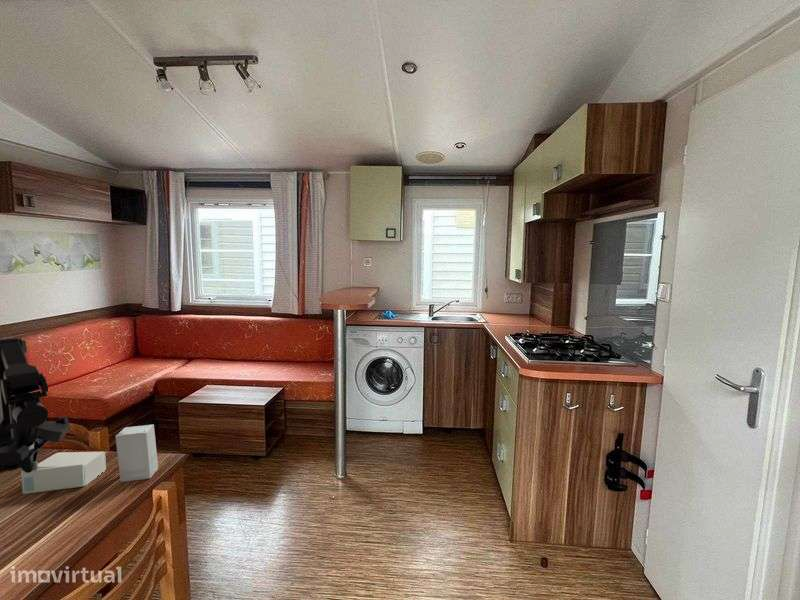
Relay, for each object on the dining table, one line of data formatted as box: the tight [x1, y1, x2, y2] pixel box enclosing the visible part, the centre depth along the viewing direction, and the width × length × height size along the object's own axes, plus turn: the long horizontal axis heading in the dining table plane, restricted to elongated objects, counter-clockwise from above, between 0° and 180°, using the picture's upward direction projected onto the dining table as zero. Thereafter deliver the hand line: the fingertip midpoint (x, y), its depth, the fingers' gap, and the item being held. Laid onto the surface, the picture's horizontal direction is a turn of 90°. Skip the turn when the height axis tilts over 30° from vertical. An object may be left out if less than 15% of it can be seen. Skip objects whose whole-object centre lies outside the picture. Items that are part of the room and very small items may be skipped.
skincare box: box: [115, 424, 159, 483], centre depth 109 cm, size 8×6×15 cm
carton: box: [38, 451, 107, 487], centre depth 108 cm, size 14×8×6 cm, turn 94°
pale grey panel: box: [20, 460, 85, 495], centre depth 101 cm, size 14×1×9 cm, turn 106°
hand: (30, 471), depth 100 cm, fingers closed
